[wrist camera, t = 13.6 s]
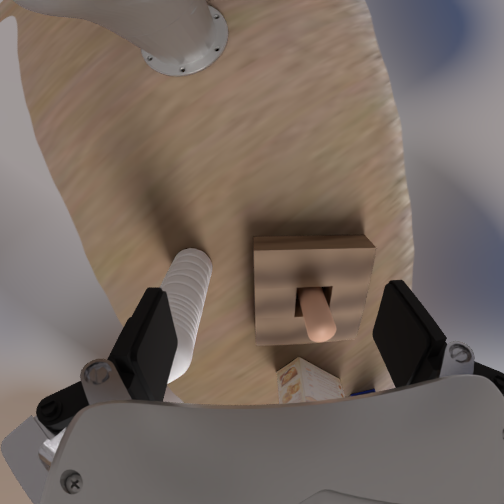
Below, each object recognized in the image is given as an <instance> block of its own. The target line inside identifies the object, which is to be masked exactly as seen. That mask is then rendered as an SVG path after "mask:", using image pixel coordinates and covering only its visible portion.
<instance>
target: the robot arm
mask: <svg viewBox="0 0 504 504" xmlns="http://www.w3.org/2000/svg"><path fill="white" fill-rule="evenodd" d="M13 1H14V2H15V3H17V4H18V5H20V6H21V7H23V8H25V9H28V10H30V11H34V12H37V13H41V14H44V15H50V16H58V17H68V18H78V19H84V20H88V21H91V22H94V23H96V24H99V25H101V26H103V27H105V28H107V29H108V30H110V31H112V32H114V33H116V34H117V35H119V36H121V37H123V38H124V39H126V40H128V41H129V42H131V43H133V44H134V45H136V46H138V47H139V48H141V53H142V56H143V58H144V60H145V62H146V63H147V64H148V65H149V66H150V67H151V68H152V69H154V70H155V71H157V72H159V73H161V74H164V75H168V76H177V77H178V76H187V75H191V74H195V73H197V72H199V71H202V70H204V69H205V68H207V67H209V66H210V65H211V64H212V63H214V62H215V61H216V60H217V59H218V58H219V56H220V55H221V54H222V52H223V51H224V49H225V47H226V44H227V41H228V27H227V23H226V21H225V19H224V17H223V15H222V14H221V13H220V12H219V11H218V10H216V9H215V8H213V7H212V6H209V5H207V2H206V0H13ZM216 18H218V19H216ZM216 49H219V51H216ZM151 58H153V59H152V60H151ZM150 60H151V61H150ZM184 69H185V72H182V70H184ZM373 339H374V341H375V343H376V345H377V347H378V349H379V351H380V354H381V356H382V358H383V360H384V362H385V364H386V367H387V369H388V371H389V373H390V376H391V378H392V380H393V382H394V385H395V387H396V388H394V389H389V390H384V391H379V392H374V393H369V394H363V395H357V396H350V397H344V398H337V399H329V400H320V401H311V402H300V403H286V404H266V405H210V404H189V403H173V402H163V398H164V394H165V390H166V387H167V383H168V379H169V375H170V371H171V368H172V364H173V361H174V357H175V353H176V350H177V346H178V339H177V335H176V331H175V327H174V323H173V319H172V314H171V310H170V306H169V301H168V297H167V293H166V291H163V290H162V288H147V289H146V291H145V293H144V295H143V297H142V298H141V300H140V302H139V304H138V306H137V308H136V310H135V311H134V313H133V315H132V317H130V318H129V319H128V320H127V322H126V324H125V326H124V328H123V330H122V332H121V334H120V335H119V337H118V339H117V341H116V343H115V345H114V347H113V349H112V351H111V353H110V356H109V357H108V359H107V360H106V359H96V360H92V361H91V362H89V363H87V364H86V365H85V366H84V367H83V369H82V370H81V374H80V378H81V381H79V382H77V383H75V384H73V385H71V386H69V387H67V388H65V389H63V390H60V391H58V392H56V393H54V394H52V395H50V396H48V397H46V398H44V399H42V401H41V402H40V403H39V405H38V407H37V411H36V414H37V416H35V417H33V416H32V415H31V416H30V417H29V418H28V419H26V420H25V421H24V422H23V423H22V424H20V426H18V427H17V428H16V429H15V430H13V431H12V432H11V433H10V434H9V435H8V436H7V437H5V438H4V440H3V441H2V445H1V451H2V454H3V456H4V458H5V460H6V462H7V464H8V465H9V467H10V469H11V470H12V472H13V474H14V475H15V477H16V479H17V480H18V481H19V483H20V485H21V486H22V488H23V489H24V491H25V492H26V494H27V495H28V497H29V498H30V499H31V501H32V502H33V503H34V504H504V374H503V373H501V372H499V371H497V370H494V369H492V368H489V367H487V366H484V365H482V364H480V363H477V362H475V361H474V359H475V357H474V353H473V351H472V349H471V348H470V347H469V346H468V345H466V344H465V343H462V342H459V341H453V342H450V343H449V344H448V345H447V343H446V342H445V341H446V339H447V338H446V336H445V335H444V333H443V332H442V331H441V329H440V328H439V326H438V325H437V324H436V322H435V321H434V320H433V318H432V317H431V316H430V314H429V313H428V312H427V310H426V309H425V308H424V306H423V305H422V304H421V302H420V301H419V300H418V299H417V297H416V296H415V295H414V293H413V292H412V291H411V290H410V288H409V287H408V286H407V285H406V284H405V282H404V281H403V280H392V281H389V283H388V284H386V286H385V289H384V293H383V297H382V300H381V304H380V308H379V311H378V315H377V318H376V322H375V325H374V329H373Z"/></svg>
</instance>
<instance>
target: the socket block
mask: <svg viewBox="0 0 504 504" xmlns="http://www.w3.org/2000/svg"><path fill="white" fill-rule="evenodd" d="M253 242H254V285H255V328H256V346H269V345H292V344H308V343H321V342H314V341H312V340H310V339H309V337H308V334H307V330H306V325H305V321H304V317H303V313H302V309H301V305H300V301H299V299H296V289H297V288H302V287H323V293H324V296H325V298H326V301H327V304H328V306H329V309H330V311H331V314H332V317H333V319H334V322H335V325H336V333H335V335H334V336H333V337H332V338H331V339H329V340H327V341H324V342H333V341H343V340H352V339H356V337H357V334H358V330H359V326H360V322H361V318H362V314H363V310H364V306H365V302H366V298H367V293H368V289H369V284H370V279H371V274H372V269H373V264H374V259H375V253H376V247H375V246H374V245H373V244H372V243H371V241H370V240H369V239H368V238H367V237H366V236H365V235H313V236H260V237H253Z"/></svg>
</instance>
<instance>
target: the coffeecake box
mask: <svg viewBox="0 0 504 504" xmlns="http://www.w3.org/2000/svg"><path fill="white" fill-rule="evenodd" d="M276 373H277V382H278V394H279V404H286V403H300V402H311V401H320V400H329V399H337V398H344V397H345V395H344V392H343V388H342V384H341V381H340V379H339V378H337V377H335V376H333V375H331V374H329V373H327V372H326V371H324V370H322V369H320V368H318V367H317V366H315V365H313V364H311V363H309V362H308V361H306V360H304V359H302V358H300V357H297V358H296V359H295V360H293V361H292V362H291V363H289V364H288V365H286V366H285V367H283V368H282V369H280V370H279V371H277V372H276Z"/></svg>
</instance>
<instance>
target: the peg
mask: <svg viewBox="0 0 504 504" xmlns="http://www.w3.org/2000/svg"><path fill="white" fill-rule="evenodd" d="M297 293H298V297H299V301H300V305H301V309H302V313H303V317H304V321H305V325H306V330H307V334H308V337H309V339H310V340H312V341H314V342H324V341H327V340H329V339H331V338H332V337H333V336H334V335H335V333H336V325H335V322H334V319H333V317H332V314H331V311H330V309H329V306H328V304H327V301H326V298H325V296H324V293H323V291H322V288H321V287H302V288H297Z"/></svg>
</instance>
